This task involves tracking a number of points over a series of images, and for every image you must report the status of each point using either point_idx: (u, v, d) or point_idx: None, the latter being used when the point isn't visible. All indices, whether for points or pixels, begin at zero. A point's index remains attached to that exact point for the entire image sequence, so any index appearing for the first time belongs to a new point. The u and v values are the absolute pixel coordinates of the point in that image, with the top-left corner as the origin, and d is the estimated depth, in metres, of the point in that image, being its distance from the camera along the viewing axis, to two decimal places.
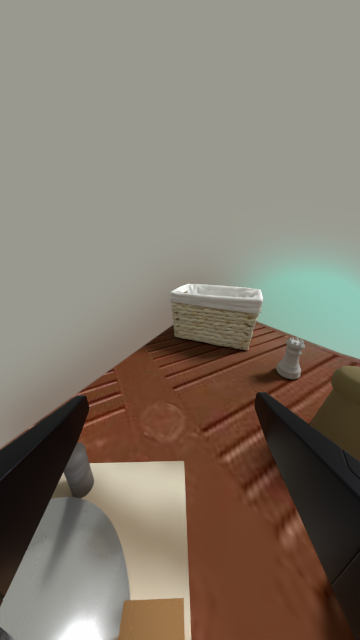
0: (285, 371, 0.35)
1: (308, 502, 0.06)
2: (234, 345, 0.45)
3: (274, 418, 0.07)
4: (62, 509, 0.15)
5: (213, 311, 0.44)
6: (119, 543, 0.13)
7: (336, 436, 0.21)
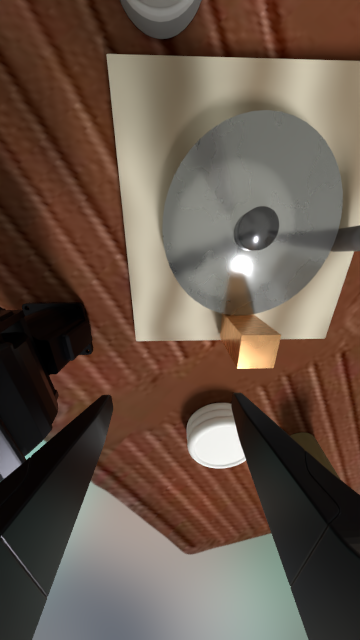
0: None
1: (272, 503, 0.06)
2: None
3: (245, 419, 0.07)
4: (327, 234, 0.15)
5: None
6: (290, 297, 0.17)
7: None
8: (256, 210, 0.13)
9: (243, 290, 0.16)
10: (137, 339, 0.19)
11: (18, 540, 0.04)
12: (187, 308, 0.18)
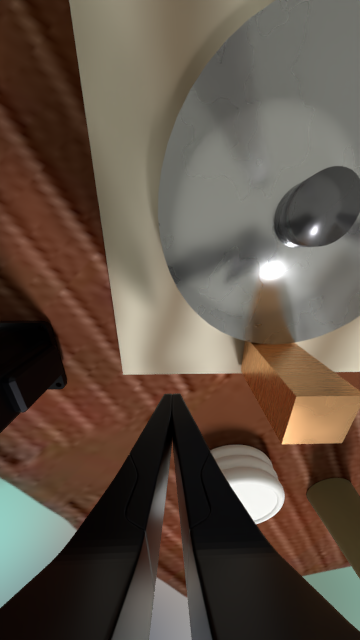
0: None
1: (180, 506, 0.06)
2: None
3: (172, 420, 0.07)
4: None
5: None
6: (351, 319, 0.11)
7: (342, 512, 0.20)
8: (326, 174, 0.07)
9: (282, 309, 0.11)
10: (125, 372, 0.14)
11: (149, 536, 0.04)
12: (195, 331, 0.13)
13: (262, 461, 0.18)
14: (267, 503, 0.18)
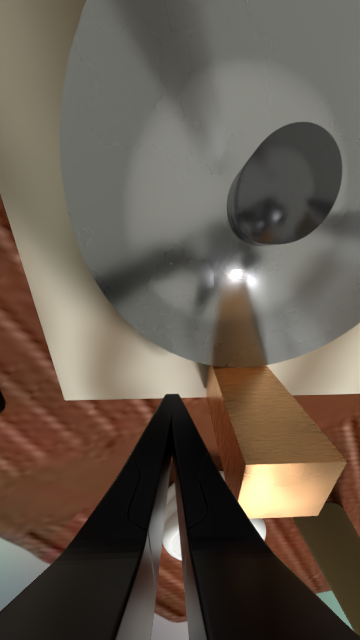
0: None
1: (178, 506, 0.06)
2: None
3: None
4: None
5: None
6: (335, 337, 0.09)
7: (331, 545, 0.18)
8: (285, 134, 0.05)
9: (247, 325, 0.08)
10: (66, 397, 0.11)
11: (151, 536, 0.04)
12: (147, 349, 0.10)
13: None
14: None
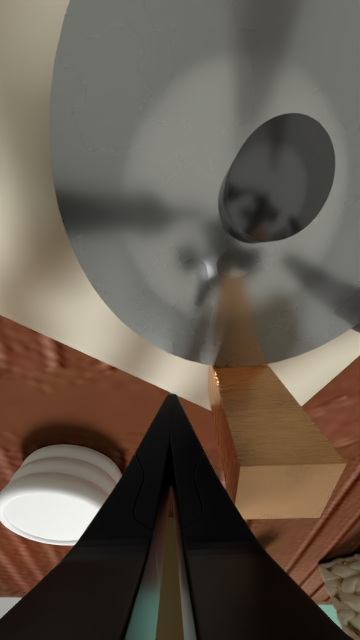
0: None
1: (174, 506, 0.06)
2: (345, 571, 0.23)
3: None
4: None
5: None
6: (339, 333, 0.08)
7: (165, 557, 0.18)
8: (272, 128, 0.04)
9: (244, 323, 0.08)
10: None
11: (156, 536, 0.04)
12: (81, 287, 0.09)
13: (108, 479, 0.15)
14: None
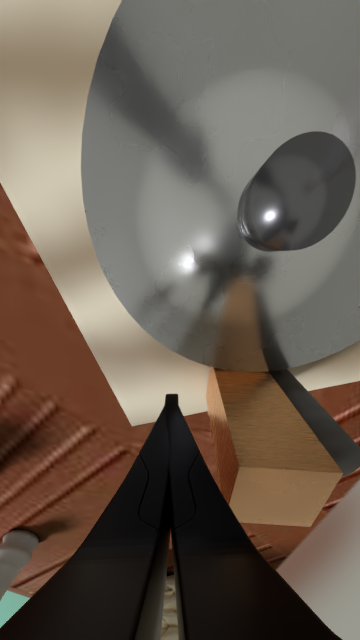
0: (16, 550, 0.21)
1: None
2: None
3: None
4: None
5: None
6: (341, 348, 0.09)
7: None
8: (300, 143, 0.05)
9: (251, 329, 0.08)
10: None
11: (162, 536, 0.04)
12: (70, 139, 0.07)
13: None
14: None
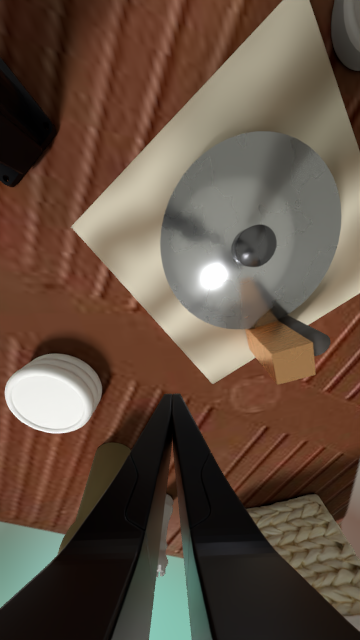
0: None
1: (180, 506, 0.06)
2: None
3: (172, 420, 0.07)
4: (330, 221, 0.14)
5: None
6: (310, 293, 0.16)
7: (110, 465, 0.24)
8: (248, 231, 0.13)
9: (259, 302, 0.16)
10: (74, 226, 0.15)
11: (149, 536, 0.04)
12: (147, 253, 0.16)
13: (96, 389, 0.21)
14: (69, 418, 0.21)
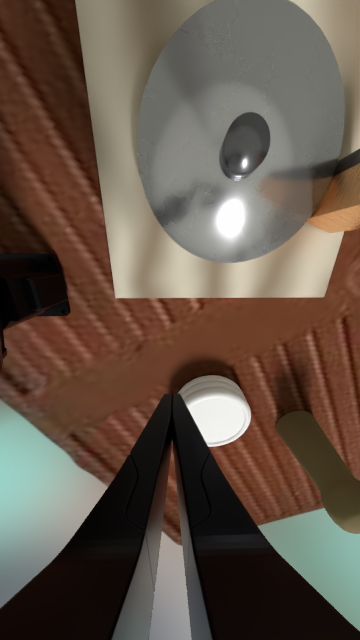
0: None
1: (180, 506, 0.06)
2: None
3: (172, 420, 0.07)
4: (291, 26, 0.10)
5: None
6: (343, 112, 0.12)
7: (301, 432, 0.24)
8: (227, 142, 0.11)
9: (296, 184, 0.13)
10: (116, 296, 0.18)
11: (149, 536, 0.04)
12: (171, 258, 0.16)
13: (232, 385, 0.22)
14: (236, 420, 0.22)
